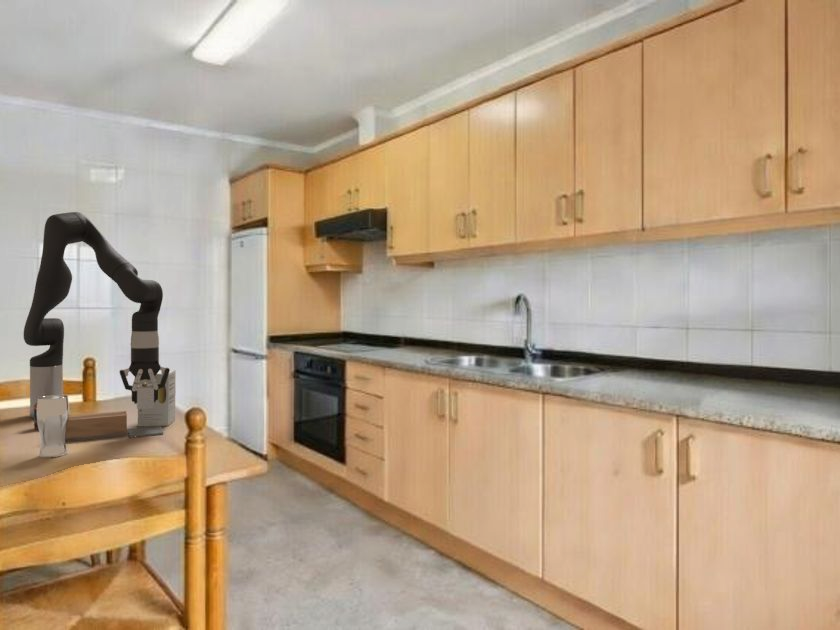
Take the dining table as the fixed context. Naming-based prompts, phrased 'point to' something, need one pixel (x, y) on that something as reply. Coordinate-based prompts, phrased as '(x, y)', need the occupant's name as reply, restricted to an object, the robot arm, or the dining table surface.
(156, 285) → the robot arm
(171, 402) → the supplement box
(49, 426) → the beer glass
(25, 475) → the dining table surface
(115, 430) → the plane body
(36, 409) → the supplement bottle
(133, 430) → the mat
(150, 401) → the drawer with brass knob
